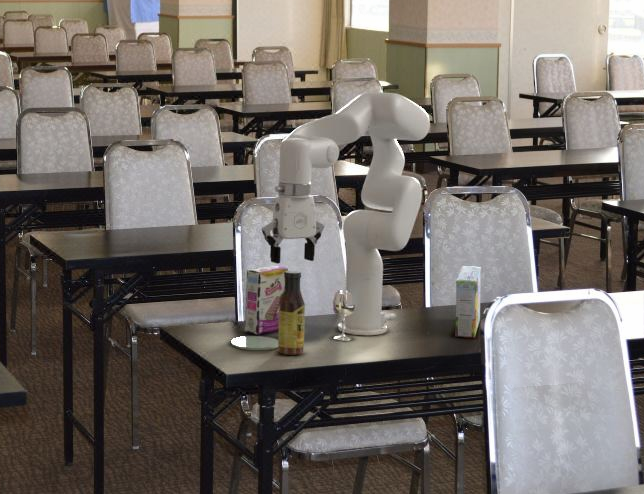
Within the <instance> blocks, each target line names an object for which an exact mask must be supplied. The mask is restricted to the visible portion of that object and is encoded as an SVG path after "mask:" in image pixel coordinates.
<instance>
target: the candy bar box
mask: <svg viewBox="0 0 644 494" xmlns="http://www.w3.org/2000/svg"><path fill="white" fill-rule="evenodd" d="M285 271H289V268H288V267H285V266H279V265H271V266H269V265H268V266H264V267H258V268H257V267H256V268H251V269H247V270H246V285H245V287H246V288H245V311H244V315H245V316H244V332H245V333H249V334H252V335H255V336H260V335H262V334H267V333H272V332H275V331H277V332H278V327H279V306H280V303H279V302H280V297H281V295H282V294H283V292H284V291H285V289H284V287H285V278H284V272H285Z"/></svg>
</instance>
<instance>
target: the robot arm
mask: <svg viewBox="0 0 644 494" xmlns="http://www.w3.org/2000/svg"><path fill="white" fill-rule="evenodd" d="M430 127H431V122H430V117H429V114H428V113H427V112H426V110H425V109H424V108H422V106H419V105H418V104H417V103H415V102H414V101H412V100H411V99H409V98H407V97H406V96H404V95H402V94H399V93H396V92H381V91H367V92H362V93H361V94H359V95H357V96H356V97H354V99H352V100H350V101H349V102H348V103H347V104H346V105H344V106H342V108H340V109H339V110H338V111H337V112H335V113H331V114H329V115H326V116H323V117H320V118H317V119H314V120H311V121H308V122H306V123H304V124H302V125H300V126H298V127H296V128H295V129H294V130H293V131H292V132H290V133H289V134H288V135H287V136H286V138H284V139H282V140H281V142H280V145H279V168H278V169H279V171H278V173H279V175H278V185H277V186H274V191H275V192H276V193H278V195H276V198H275V200H274V206H273V212H272V221H271V222H269V223H268V224H266V225H265V226H263V227H262V228H261V232H262V235H263V236H264V240H265V241H266V242H267V244H268V245H269V246H270V248H269V249H270V251H269V252H270V253H269V258H270V262H271V263H273V264H280V263H281V255H282V253H281V252H282V249H281V246H280V244H281V243H282V242H283V240H295V239H296V240H297V239H304V240H305V241H306V242H304V251H303V253H304V254H303V256H304V257H303V258H304V260H306V261H310V262H313V261H315V254H316V253H315V249H316V245H317V244H318V241H319V239H320V238H321V237H322V233H323V231H324V229H325V224H324V223H323V224H322V223H321V222H319V221H317V212H316V203H315V199H314V196H313V195H311V184H312V182H311V181H312V168H315V169H327V168H331V167H332V166H334V165H335V164H336V163H337V162H338V159H339V156H340V149H339V146H343V145H347V144H348V145H349V144H352V143H354V142H356V141H357V140H359V139H360V138H361V137H362V136H363V135H364V134H366V133H367V132H368V133H369V136H370V140H371V144H372V150H373V154H372V155H373V156H372V159H371V162H370V166H369V168H368V171H367V173H366V177H365V180H364V183H363V185H362V190H361V193H360V198H361V202H362V204H363V205H364V206H366V207H367V208H370V209H374V210H368V209H357V210H353V211H351V212H349V213H348V214H347V215H346V217H345V218H344V221H343V226H342V227H343V229H342V230H343V238H344V245H345V261H346V262H345V286H344V287H345V289H344V290H346V291H352V292H354V297H355V311H354V313H353V314H352V315H350V316H348V317H345V325H344V334H345V333H346V334H349V335H355V336H377V335H382V334H385V333H387V330H388V327H387V325H386V323H387V322H394V321H396V318H397V315H396V314H395V313H387V314H386V313H385V312H382V309H383V308H382V306H383V281H384V280H383V277H384V275H383V274H384V263H383V259H382V256H381V254H380V252H379V250H382V251H383V250H384V251H390V252H398V251H401V250H403V249H404V248H405V247H406V246H407V244H408V242H409V240H410V238H411V235H412V232H413V229H414V226H415V223H416V221H417V217H418V214H419V210H420V208H421V204H422V199H423V198H422V197H423V190H422V186H421V185H422V184H421V183H420V181H419V180H418V179H417V178H415V177H413V176H410V175H402V174H403V171H404V167H405V163H406V159H405V155H404V152H403V150H402V148H401V146H400V144H399V143H398V141H397V140H400V141H412V142H413V141H421V140H423V139H424V138H425V137H426V136H427V135H428V133H429V131H430ZM377 210H380V211H377ZM383 211H388V212H383ZM271 232H272V235H271ZM338 330H339V331H340V332H342V322H340V323H338Z"/></svg>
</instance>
